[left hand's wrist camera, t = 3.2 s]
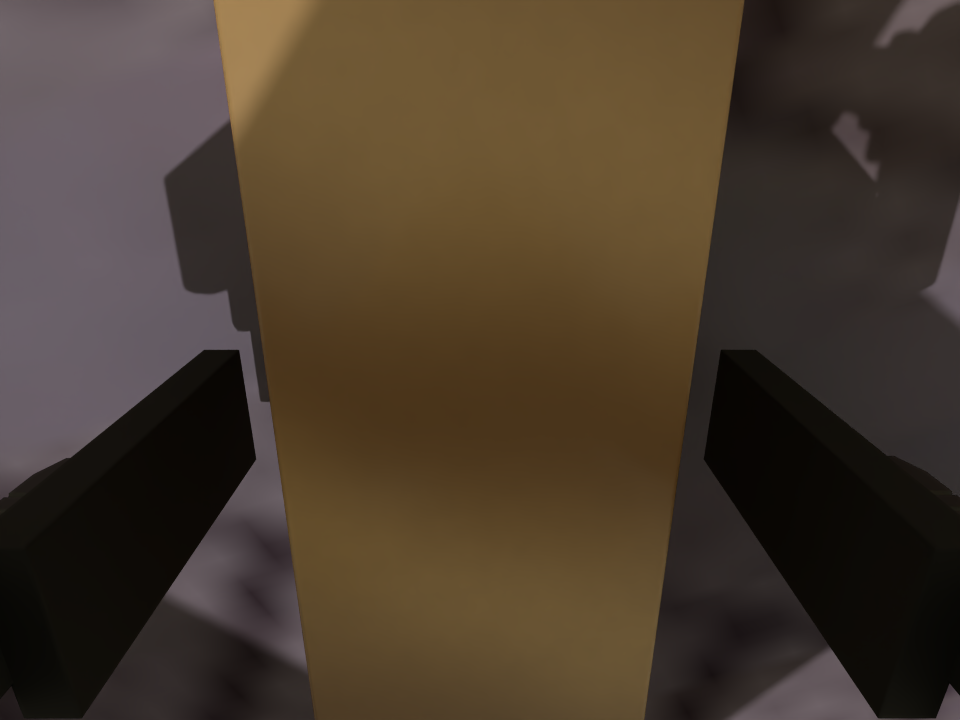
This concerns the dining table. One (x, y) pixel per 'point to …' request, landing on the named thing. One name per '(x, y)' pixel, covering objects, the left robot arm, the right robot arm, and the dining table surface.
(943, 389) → the dining table surface
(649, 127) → the bar
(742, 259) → the dining table surface
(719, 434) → the left robot arm
